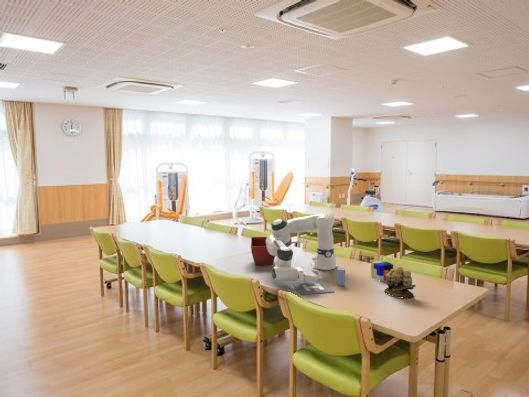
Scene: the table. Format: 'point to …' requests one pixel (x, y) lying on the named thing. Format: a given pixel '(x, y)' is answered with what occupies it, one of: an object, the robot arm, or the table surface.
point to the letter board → (312, 288)
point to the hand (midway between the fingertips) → (320, 274)
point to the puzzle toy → (380, 269)
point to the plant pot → (261, 251)
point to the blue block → (340, 276)
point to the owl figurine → (399, 283)
